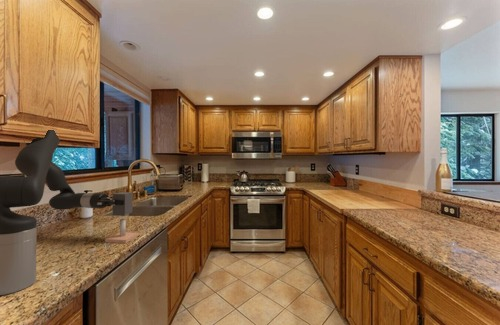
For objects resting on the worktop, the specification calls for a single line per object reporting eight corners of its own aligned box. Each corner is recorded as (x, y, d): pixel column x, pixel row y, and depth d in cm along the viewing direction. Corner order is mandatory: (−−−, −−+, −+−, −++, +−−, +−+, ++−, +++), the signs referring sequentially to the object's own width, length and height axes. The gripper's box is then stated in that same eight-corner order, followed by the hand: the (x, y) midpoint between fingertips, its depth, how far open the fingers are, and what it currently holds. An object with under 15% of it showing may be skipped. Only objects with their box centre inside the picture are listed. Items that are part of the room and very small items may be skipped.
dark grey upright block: (124, 215, 101) (125, 194, 100) (112, 214, 101) (112, 193, 101) (132, 212, 107) (132, 192, 106) (120, 211, 107) (121, 192, 107)
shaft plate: (125, 243, 98) (126, 222, 98) (105, 242, 99) (105, 222, 99) (138, 235, 108) (138, 217, 108) (119, 235, 109) (119, 216, 109)
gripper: (82, 195, 97) (118, 196, 96) (105, 190, 112) (136, 191, 111) (82, 211, 97) (117, 212, 96) (105, 205, 112) (136, 206, 111)
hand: (127, 201), depth 104 cm, fingers closed on dark grey upright block, 6 cm apart
